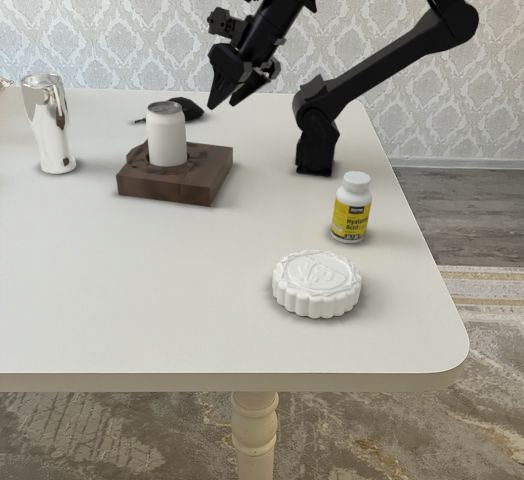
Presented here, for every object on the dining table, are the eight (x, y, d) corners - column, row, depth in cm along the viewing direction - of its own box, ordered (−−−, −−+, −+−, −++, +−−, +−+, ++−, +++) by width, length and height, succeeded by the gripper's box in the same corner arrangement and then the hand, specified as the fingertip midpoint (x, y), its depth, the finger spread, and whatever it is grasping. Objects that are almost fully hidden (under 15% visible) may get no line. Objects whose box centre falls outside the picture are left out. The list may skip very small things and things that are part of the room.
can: (191, 181, 104) (188, 112, 96) (155, 186, 102) (149, 116, 94) (183, 165, 108) (179, 98, 100) (148, 169, 106) (141, 101, 98)
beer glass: (68, 177, 103) (50, 88, 93) (31, 172, 104) (10, 84, 94) (85, 160, 108) (70, 74, 98) (49, 156, 109) (31, 70, 99)
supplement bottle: (342, 247, 90) (351, 188, 83) (323, 230, 93) (331, 172, 87) (371, 239, 92) (383, 181, 85) (352, 223, 95) (361, 165, 89)
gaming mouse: (131, 117, 124) (129, 97, 121) (198, 109, 129) (198, 90, 126) (138, 128, 120) (136, 108, 117) (208, 120, 124) (207, 100, 122)
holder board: (233, 165, 109) (233, 146, 107) (210, 207, 97) (209, 187, 95) (144, 154, 111) (142, 135, 109) (112, 193, 99) (109, 174, 97)
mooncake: (253, 292, 81) (254, 270, 78) (308, 257, 87) (310, 236, 85) (323, 332, 75) (326, 310, 72) (376, 291, 82) (380, 270, 79)
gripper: (254, -7, 100) (207, 74, 108) (208, -20, 84) (157, 76, 93) (304, 36, 100) (253, 114, 108) (267, 31, 84) (211, 123, 93)
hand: (220, 106), depth 101 cm, fingers open, 9 cm apart
